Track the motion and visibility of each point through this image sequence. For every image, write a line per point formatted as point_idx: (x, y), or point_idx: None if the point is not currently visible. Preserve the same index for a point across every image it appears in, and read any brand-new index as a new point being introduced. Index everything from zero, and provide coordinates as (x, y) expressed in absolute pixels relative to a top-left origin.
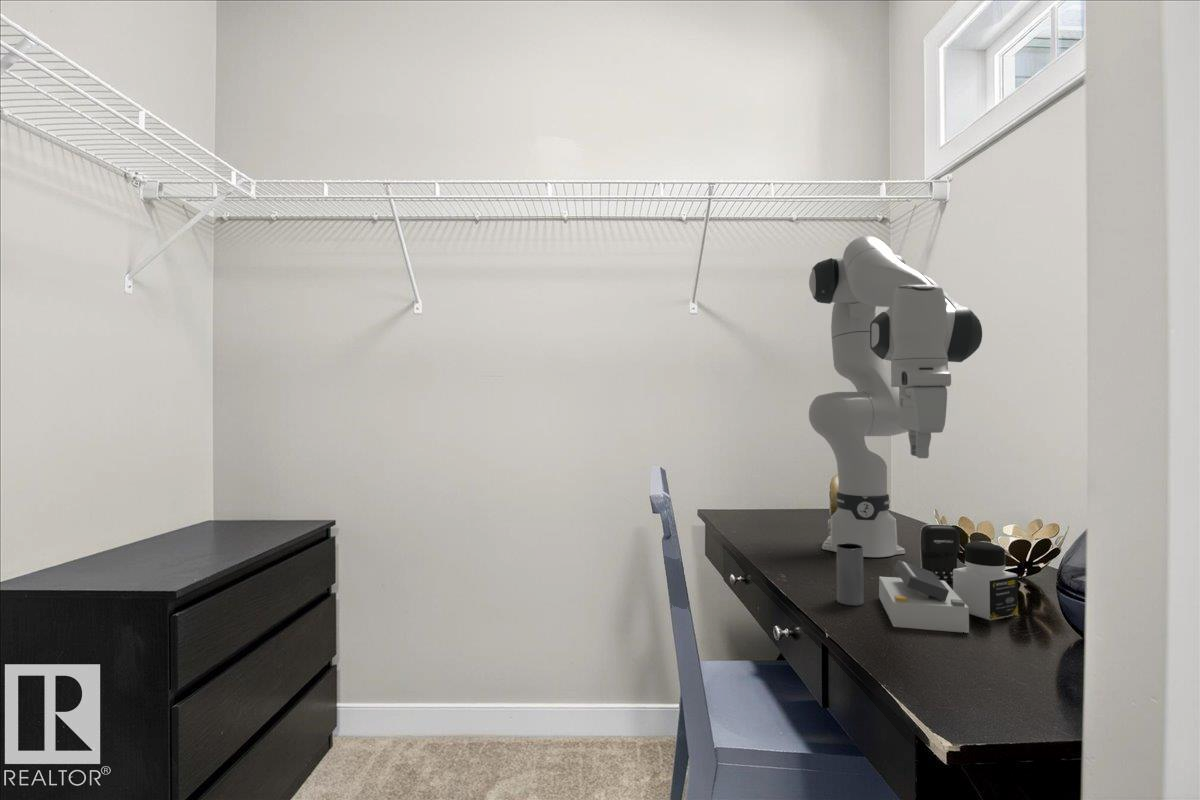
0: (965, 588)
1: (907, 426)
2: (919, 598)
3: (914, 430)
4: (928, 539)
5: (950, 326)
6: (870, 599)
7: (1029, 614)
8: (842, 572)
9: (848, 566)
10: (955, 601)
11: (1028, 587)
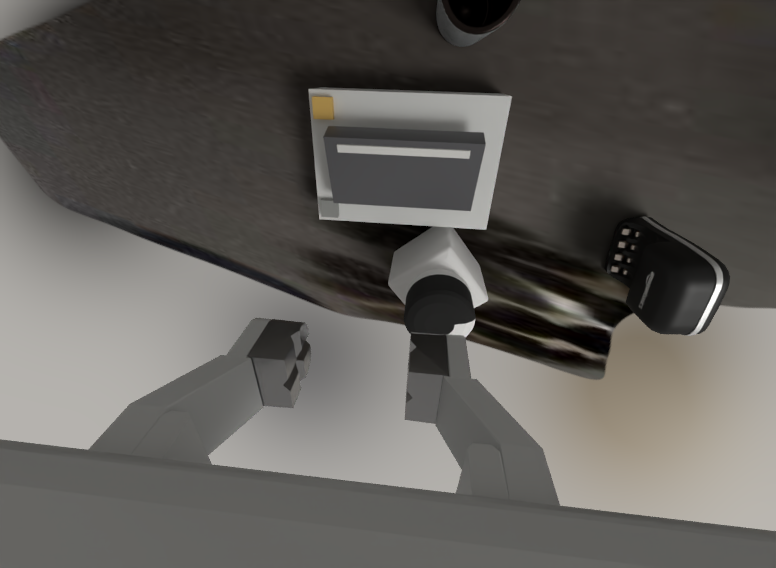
0: (425, 247)
1: (319, 507)
2: None
3: (6, 441)
4: (661, 263)
5: None
6: (490, 70)
7: None
8: None
9: None
10: (324, 204)
11: (572, 355)
